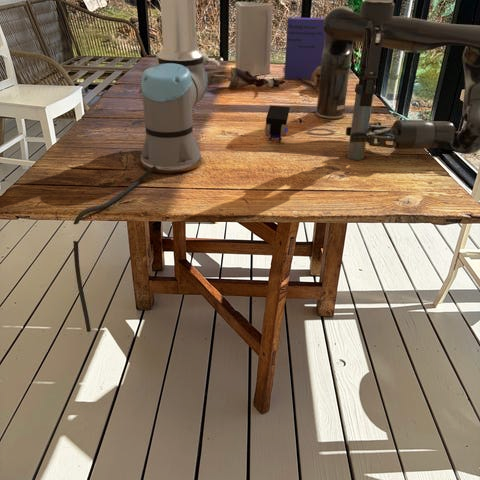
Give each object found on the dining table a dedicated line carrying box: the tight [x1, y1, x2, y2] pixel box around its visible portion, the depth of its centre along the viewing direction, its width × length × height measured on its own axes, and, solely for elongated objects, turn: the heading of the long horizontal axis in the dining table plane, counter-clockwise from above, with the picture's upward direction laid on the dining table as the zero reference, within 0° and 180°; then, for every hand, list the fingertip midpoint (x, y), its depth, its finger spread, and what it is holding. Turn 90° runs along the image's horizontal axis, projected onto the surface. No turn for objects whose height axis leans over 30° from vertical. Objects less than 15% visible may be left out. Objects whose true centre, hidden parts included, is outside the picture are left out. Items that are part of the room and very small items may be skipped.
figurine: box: [209, 66, 287, 89], centre depth 190 cm, size 24×8×30 cm
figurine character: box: [264, 105, 290, 143], centre depth 140 cm, size 7×8×15 cm
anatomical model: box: [310, 66, 321, 93], centre depth 190 cm, size 13×9×15 cm
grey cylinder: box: [346, 92, 375, 161], centre depth 124 cm, size 4×4×18 cm
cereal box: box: [283, 16, 325, 81], centre depth 202 cm, size 17×5×24 cm, turn 86°
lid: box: [354, 82, 377, 95], centre depth 119 cm, size 5×5×2 cm
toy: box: [155, 51, 221, 68], centre depth 223 cm, size 24×25×7 cm
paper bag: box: [234, 1, 274, 77], centre depth 210 cm, size 19×15×28 cm
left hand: (363, 102), depth 121 cm, fingers open, 6 cm apart
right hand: (348, 134), depth 125 cm, fingers closed on grey cylinder, 4 cm apart
